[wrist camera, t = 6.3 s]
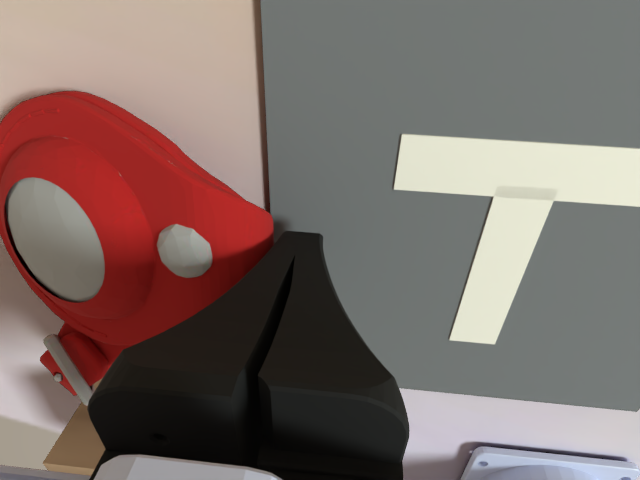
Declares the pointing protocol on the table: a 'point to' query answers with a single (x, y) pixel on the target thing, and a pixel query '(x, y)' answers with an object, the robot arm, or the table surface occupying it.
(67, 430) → the walnut cube
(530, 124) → the letter mat
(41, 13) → the table surface
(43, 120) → the tracker holder
